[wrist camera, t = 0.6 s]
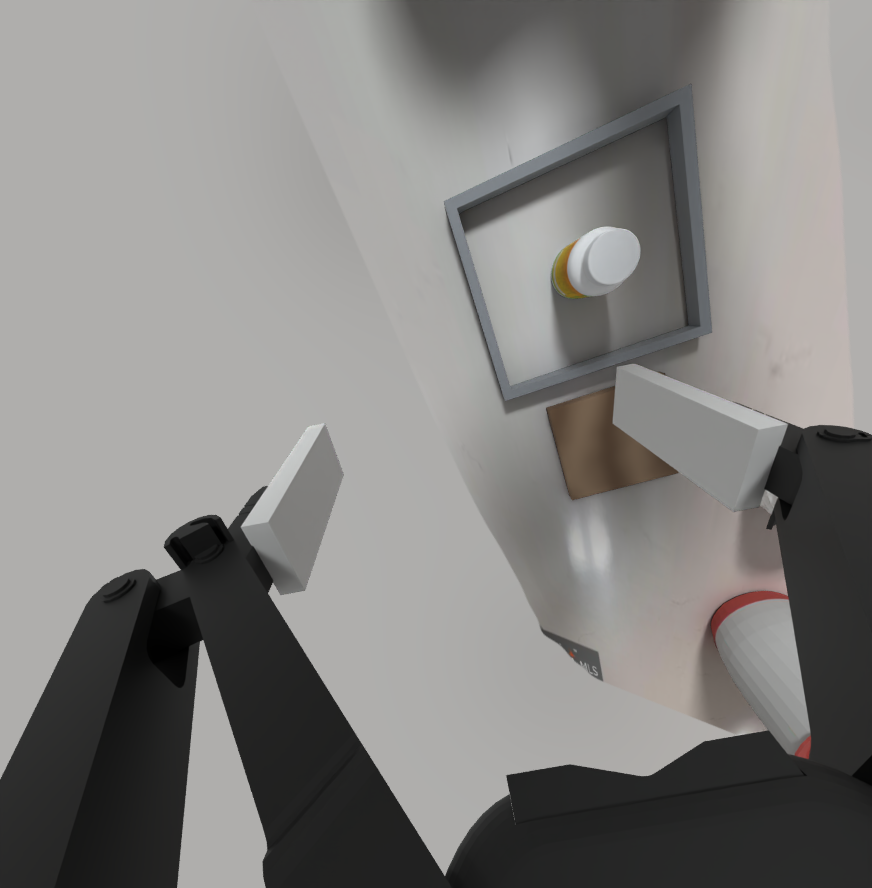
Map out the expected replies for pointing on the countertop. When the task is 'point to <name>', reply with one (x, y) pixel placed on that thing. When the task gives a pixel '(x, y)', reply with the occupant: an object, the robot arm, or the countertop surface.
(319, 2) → the countertop surface
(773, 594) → the citrus juicer
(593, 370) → the tray frame
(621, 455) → the walnut board
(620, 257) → the supplement bottle
